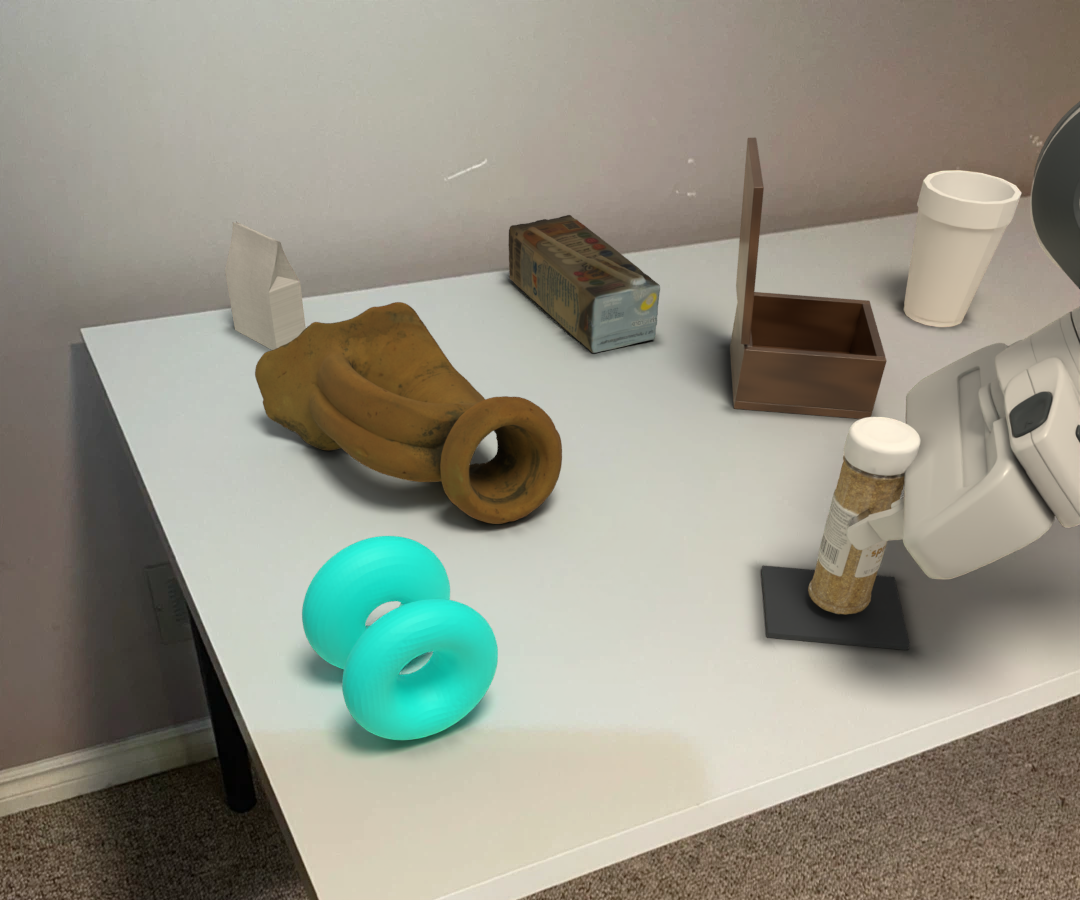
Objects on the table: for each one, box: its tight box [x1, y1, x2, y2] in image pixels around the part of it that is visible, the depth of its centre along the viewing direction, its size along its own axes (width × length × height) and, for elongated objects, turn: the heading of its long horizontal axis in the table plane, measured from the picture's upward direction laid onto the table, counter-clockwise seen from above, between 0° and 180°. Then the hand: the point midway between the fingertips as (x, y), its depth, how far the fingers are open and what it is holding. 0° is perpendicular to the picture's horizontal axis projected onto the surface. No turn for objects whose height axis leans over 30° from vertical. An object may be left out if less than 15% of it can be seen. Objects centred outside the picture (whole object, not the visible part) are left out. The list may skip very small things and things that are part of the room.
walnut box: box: [729, 291, 888, 420], centre depth 102 cm, size 13×13×6 cm
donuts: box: [301, 535, 499, 741], centre depth 67 cm, size 10×10×10 cm
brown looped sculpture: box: [254, 301, 563, 525], centre depth 86 cm, size 18×13×22 cm
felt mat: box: [760, 564, 911, 651], centre depth 79 cm, size 10×8×1 cm
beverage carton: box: [508, 214, 661, 354], centre depth 111 cm, size 8×19×7 cm, turn 27°
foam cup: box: [903, 169, 1022, 328], centre depth 111 cm, size 10×9×13 cm
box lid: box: [735, 137, 765, 344], centre depth 95 cm, size 13×13×1 cm
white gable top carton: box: [224, 221, 307, 351], centre depth 103 cm, size 4×7×10 cm, turn 48°
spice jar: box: [808, 416, 920, 615], centre depth 73 cm, size 5×5×13 cm
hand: (853, 513), depth 73 cm, fingers closed on spice jar, 4 cm apart
